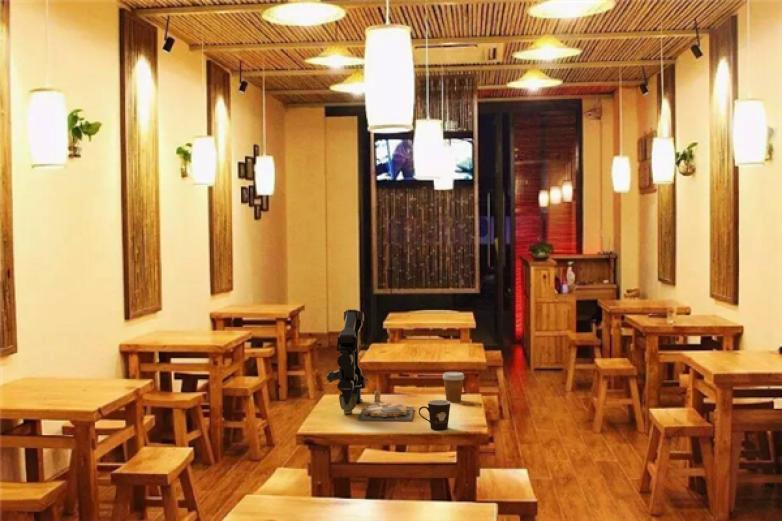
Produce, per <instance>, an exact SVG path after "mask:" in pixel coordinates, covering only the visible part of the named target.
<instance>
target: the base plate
mask: <svg viewBox="0 0 782 521" xmlns="http://www.w3.org/2000/svg"><path fill="white" fill-rule="evenodd" d="M367 406H368V405H364V406H363V408H362V410H361V412H360V413H359V415H358V417H357V419H358V421H359V422H412V421H413V416H414V411H415V407H414V406H408V407H409V409H410V412H407V414H405V415H400V416H393V417H380V416H372V415H370V414H366V413H364V408H367Z"/></svg>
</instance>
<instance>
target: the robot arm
mask: <svg viewBox="0 0 782 521" xmlns="http://www.w3.org/2000/svg"><path fill="white" fill-rule="evenodd" d="M364 314H365V313H364V312H363V311H362V310H359V309H351V308H350V309H346V310H345V311H343V321H344V326H343V329H342V330H341V331H340V332H339V335H337V343H336V352H340V354H339V356H338V358H337V362H336V363H337V365H338V367H339V369H337V370H335V371H330V372H328V373H327V374H326V380H328V383H332V382H334V381H337V380H339V381H338V382H337V384H336V386H337V388H336V389H337V390H338V391H340V392H341V394H343V397H344V401H345V405H348V403H349V400H350V397H351V394H354V393H355V394H357V400H356V404H362V402H363V399H362V393H361V392H362V390H364V389H366V379H365V378H366V377H365V376H364V374H363V370H362V369H361V367H360V365H359V357H360V355H359V353H360V352H359V351H360V349H359V348H360V346H359V344H360V331H361V328H362V327H363V322H365V315H364Z"/></svg>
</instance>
